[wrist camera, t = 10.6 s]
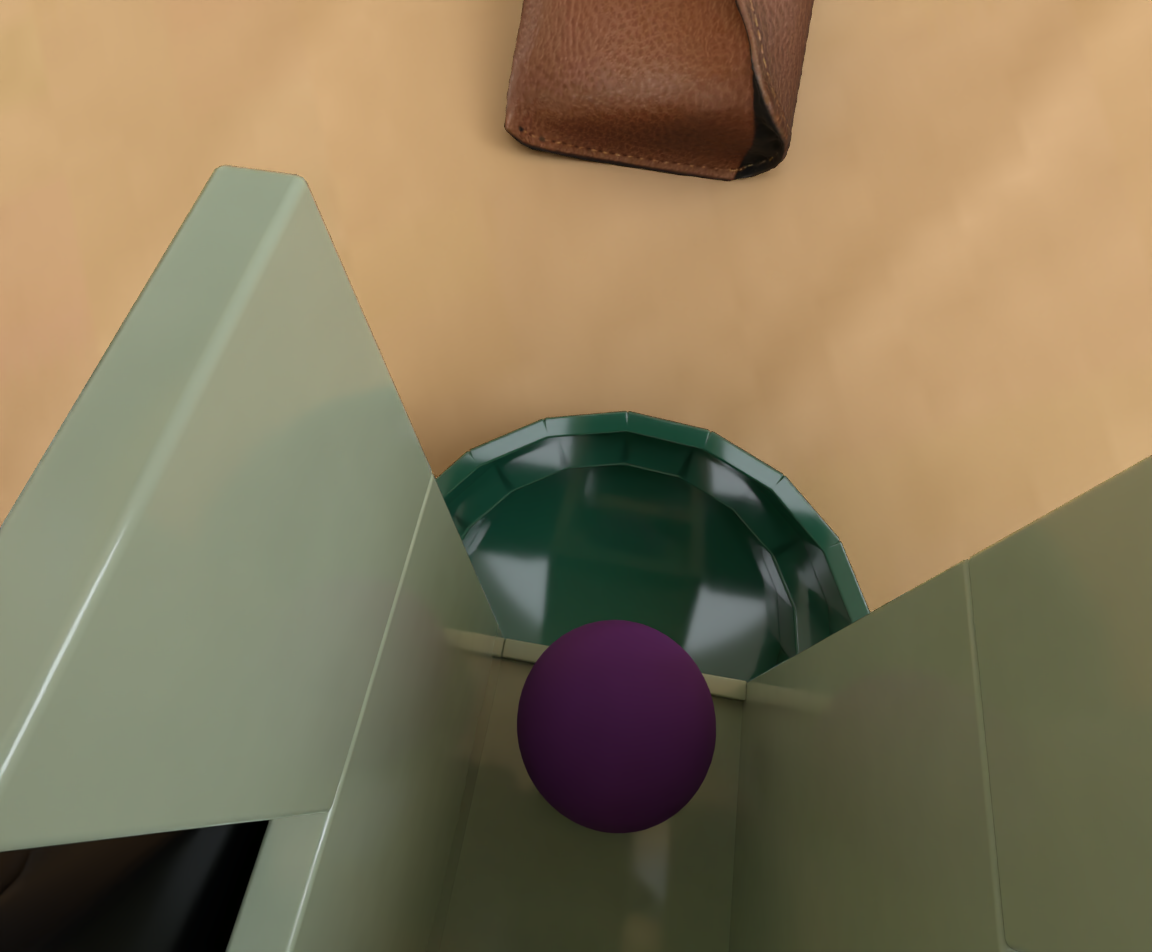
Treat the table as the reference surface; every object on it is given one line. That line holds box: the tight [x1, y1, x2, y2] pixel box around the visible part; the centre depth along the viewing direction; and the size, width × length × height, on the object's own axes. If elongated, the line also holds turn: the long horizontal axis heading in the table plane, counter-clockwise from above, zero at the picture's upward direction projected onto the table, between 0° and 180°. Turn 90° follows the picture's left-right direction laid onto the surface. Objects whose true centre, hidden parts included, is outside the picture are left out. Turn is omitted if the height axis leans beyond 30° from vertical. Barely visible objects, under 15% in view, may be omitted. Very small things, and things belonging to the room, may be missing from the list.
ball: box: [517, 620, 716, 833], centre depth 12 cm, size 4×4×4 cm
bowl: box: [436, 411, 870, 682], centre depth 18 cm, size 13×13×4 cm
